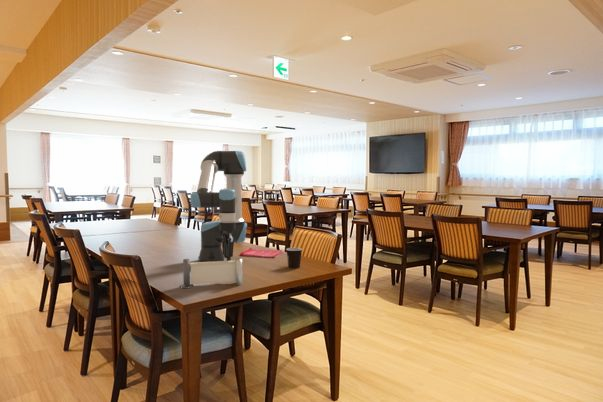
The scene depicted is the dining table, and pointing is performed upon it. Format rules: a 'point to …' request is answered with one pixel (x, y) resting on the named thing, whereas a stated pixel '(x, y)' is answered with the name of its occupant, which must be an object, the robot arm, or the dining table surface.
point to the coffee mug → (294, 257)
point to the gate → (209, 272)
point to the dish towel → (261, 253)
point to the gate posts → (238, 274)
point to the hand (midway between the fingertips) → (227, 270)
